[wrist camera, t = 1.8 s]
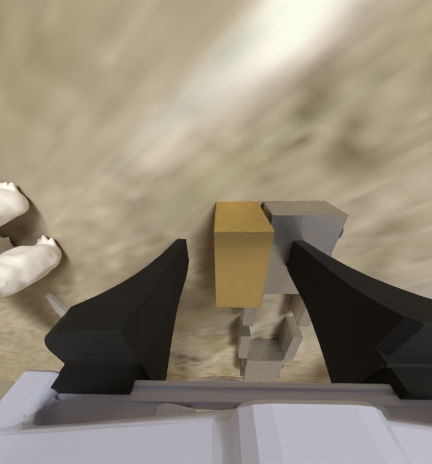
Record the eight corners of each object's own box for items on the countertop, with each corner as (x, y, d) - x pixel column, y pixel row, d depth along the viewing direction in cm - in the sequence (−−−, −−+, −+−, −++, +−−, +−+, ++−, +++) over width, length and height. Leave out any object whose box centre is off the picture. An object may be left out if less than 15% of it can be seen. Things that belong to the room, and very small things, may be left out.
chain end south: (339, 201, 11) (365, 214, 9) (298, 306, 18) (309, 328, 15) (249, 201, 12) (255, 215, 10) (240, 305, 18) (242, 327, 16)
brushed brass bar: (257, 201, 12) (274, 231, 8) (249, 263, 15) (260, 307, 11) (216, 201, 12) (213, 232, 8) (217, 263, 15) (216, 307, 11)
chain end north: (294, 317, 19) (303, 339, 16) (276, 363, 25) (281, 384, 23) (239, 316, 19) (241, 338, 17) (234, 362, 25) (236, 382, 23)
